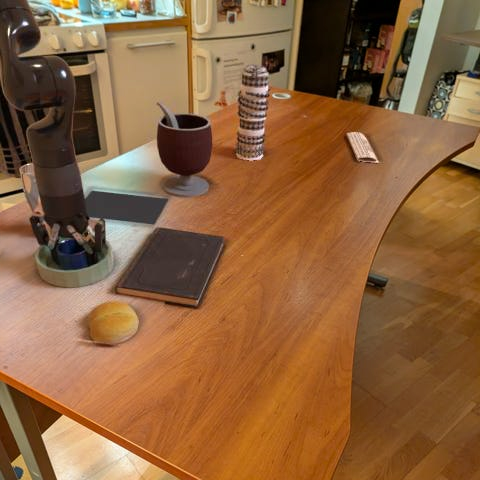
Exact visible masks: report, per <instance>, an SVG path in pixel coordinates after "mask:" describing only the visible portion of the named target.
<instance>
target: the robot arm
mask: <svg viewBox="0 0 480 480" xmlns="http://www.w3.org/2000/svg"><path fill="white" fill-rule="evenodd" d="M41 39H42V33H41V29H40V26H39V24H38V22H37V19H36V17H35V15H34V13H33V10H32V7H31V5H30V2H29V1H28V0H0V86H1V91H2V93H3V95H4V97H5V99H6V101H8V103H9V104H10V105H11V106H12V107H14V109H16V110H18V111H21V112H31V111H32V112H33V111H37V110H45V109H49V110H48V113H47V115H46V116H45V117H43V118H42V119H39V120H37V121H35V122H34V123H32V124H30V125H29V126H28V127H27V129H26V141H27V144H28V148H29V153H30V156H31V160H32V163H33V166H34V176H35V180H36V185H37V188H38V192H39V196H40V201H41V205H42V209H43V212H44V214H41V213H40V212H35V213H34V214H33V213H32V215H31V216H30V217H29V219H28V221H29V224H30V226H31V228H32V231H33V234H34V237H35V239H36V242H37V244H38V245H39V246H43V245H45V246H48V248H49V249H50V251H51V255H52V259H53V261H54V262H55V263H56V265H60V264H59V260H58V256H57V252H56V246H57V245H58V243H59V240H60V238H71V239H76V240H77V242H78V243H79V244H80V245H82V246H83V247H84V248H85V250H86V251H87V259H88V264H89V267H90V266H92V265H95V264H97V263H98V262H99V259H98V253H97V252H101V251H102V249H103V248H104V247H105V245H106V240H107V238H106V237H107V233H106V219H99V218H98V219H99V220H97V219H93V218H90V217H89V216H88V214H87V212H86V202H85V198H86V197H85V191H84V186H83V180H82V175H81V170H80V167H79V164H78V163H79V162H78V160H77V156H76V149H75V145H74V138H73V125H74V110H75V101H76V90H77V89H76V81H75V76H74V73H73V71H72V68H71V67H70V66H69V64H68V63H67V62H66V61H65V59H63V58H62V57H60V56H57V55H43V56H32V57H31V56H30V57H19V56H21V55H24V54H26V53H28V52H31V51H32V50H35V48H37V47H38V45H40V43H41ZM45 222H46V223H47V224H48V225H49V226H50V228H51V229H52V232H51V235H50V237H49V234H48V231H47V229H46V226H45ZM88 227H90V228H91V231H90V229H89V228H88ZM82 234H84V236H83V237H82ZM92 234H94V235H95V241H94V239H93V238H92Z"/></svg>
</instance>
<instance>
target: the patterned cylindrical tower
mask: <svg viewBox="0 0 480 480" xmlns="http://www.w3.org/2000/svg"><path fill="white" fill-rule="evenodd" d="M240 73H241V83H240V86H239V87H240V90H239V91H238V94H237V96H238V98H237V102H238V106H237V117H238V118H239V121H238V123H239V125H238V129H237V130H238V131H237V132H236V135H237V137H236V141H237V142H236V144H235V146H236V148H235V151H236V153H235V156H236V155H237V156H236V158H238V159H240V160H242V159H243V161H247V160H249V161H248V162H254V161H253V160H257V161H260V160H262V159H263V158H262V157H264V151H265V150H264V149H265V145H264V143H265V140H266V139H265V136H266V133H265V130H266V129H265V128H266V127H265V121H266V119H267V116H268V114H267V113H266V111H268V110H269V107H268V106H267V105H269V100H267V99H268V98H269V97H270V96H271V95H270V93H269V92H270V91H271V89H270V88H269V76H270V72H269V71H268V70H267V68H266V67H265V66H264V65H260V64H248V65H246V66H245V67H244V68H243V70H241V71H240ZM261 158H262V159H261Z"/></svg>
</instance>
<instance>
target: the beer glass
mask: <svg viewBox="0 0 480 480" xmlns="http://www.w3.org/2000/svg"><path fill="white" fill-rule="evenodd" d="M19 174H20V181H21V187H22V191H23V194H24V197H25V200H26V202H27V204H28V206H29V209H30V210H31V213H32V215H33V214H34V213H35V212H40V213H41V214H44V212H43V209H42V205H41V201H40V196H39V192H38V188H37V185H36V180H35V176H34V166H33V162H30V163H29V162H28V163H26V164H24V165H22V166H20V167H19ZM45 226H46V229H47V231H48V234H49V237H50V235H51V232H52V229H51V228H50V226H49V225H48V224H47V223H46V222H45Z"/></svg>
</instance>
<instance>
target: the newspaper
mask: <svg viewBox="0 0 480 480" xmlns="http://www.w3.org/2000/svg"><path fill="white" fill-rule="evenodd" d="M346 137H347V139H348V142H349V144H350V147H351V149H352V152H353V154H354V156H355V158H356V161H357V162H360V161H362V162H360V163H365V162H371V163H370V164H372V163H376V164H377V163H378V164H380V161H379V159H378V158H377V155H376V153H375V152H374V150H373V148H372V147H371V144H370V142H369V140H368V139H367V137H365V134H363V133H362V132H357V131H351V132H346Z"/></svg>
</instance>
